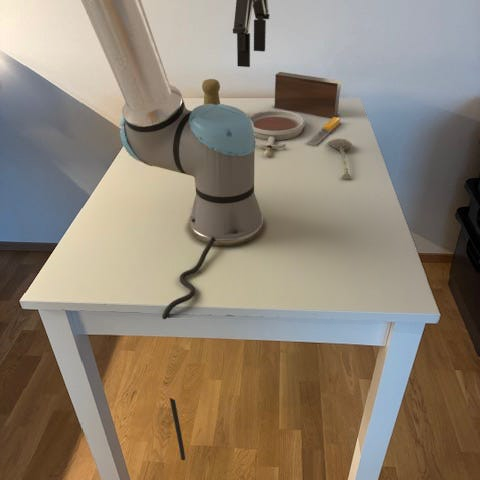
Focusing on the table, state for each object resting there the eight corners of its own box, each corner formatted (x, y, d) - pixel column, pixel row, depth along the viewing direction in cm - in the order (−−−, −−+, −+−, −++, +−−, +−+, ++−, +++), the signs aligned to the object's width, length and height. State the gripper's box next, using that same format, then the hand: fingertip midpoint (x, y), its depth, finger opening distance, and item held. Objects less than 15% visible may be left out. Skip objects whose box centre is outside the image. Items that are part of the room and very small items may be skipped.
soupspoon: (350, 145, 133) (326, 146, 134) (351, 133, 131) (326, 133, 132) (359, 179, 116) (331, 180, 117) (360, 166, 114) (332, 167, 115)
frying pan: (234, 147, 126) (250, 107, 146) (235, 158, 128) (250, 117, 148) (300, 151, 124) (307, 109, 144) (299, 161, 126) (306, 119, 146)
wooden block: (333, 118, 146) (337, 83, 140) (274, 107, 154) (275, 74, 147) (337, 115, 148) (341, 80, 142) (278, 104, 156) (279, 71, 149)
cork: (213, 113, 151) (211, 75, 143) (226, 118, 147) (225, 79, 140) (198, 118, 148) (196, 80, 140) (211, 124, 144) (209, 84, 137)
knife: (316, 145, 132) (317, 139, 131) (308, 144, 133) (308, 138, 132) (340, 123, 143) (340, 118, 142) (332, 122, 144) (333, 116, 143)
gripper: (253, -49, 90) (253, 74, 104) (283, -62, 107) (279, 46, 121) (215, -50, 91) (219, 72, 106) (251, -62, 109) (250, 44, 123)
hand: (251, 58), depth 114 cm, fingers open, 13 cm apart
